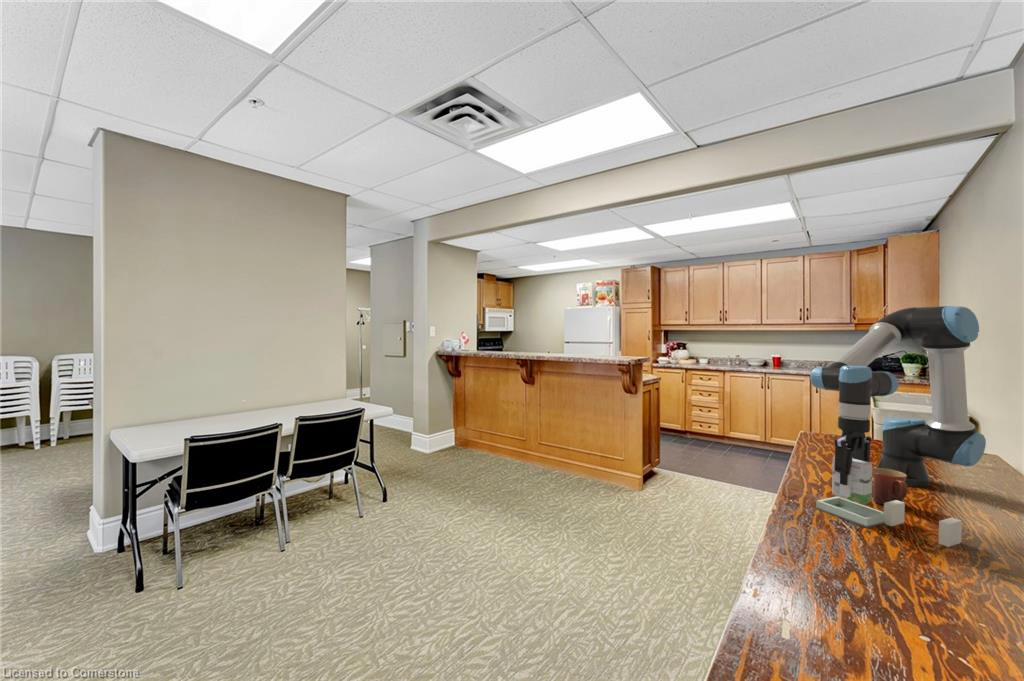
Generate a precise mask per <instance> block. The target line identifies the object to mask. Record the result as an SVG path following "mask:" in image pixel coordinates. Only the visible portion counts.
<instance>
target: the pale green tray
mask: <svg viewBox="0 0 1024 681" xmlns="http://www.w3.org/2000/svg"><path fill="white" fill-rule="evenodd" d="M815 501H816V506H815V509H816V510H818V511H821V512H822V513H823V512H824V513H826V514H829V515H831V516H834V517H835V518H836V517H837V518H839V519H843V520H844V521H846V522H850V523H853V524H854V525H857V526H860V527H862V528H865V529H869V528H873V527H877V526H880V525H881V526H882V525H885V524H884V511H881V510H879V509H875V508H873V507H870V506H867V505H865V504H862V503H859V502H856V501H852V500H849V499H846V498H843V497H839V496H836V495H835V496H833V497H827V498H822V499H818V500H815Z"/></svg>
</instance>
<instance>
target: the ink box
mask: <svg viewBox="0 0 1024 681" xmlns="http://www.w3.org/2000/svg"><path fill="white" fill-rule="evenodd" d="M872 469H873V463H872V462H871V461H870V462H866V461H862V460H857V459H852V464H851V469H850V475H852V478H851V497H848V496H845V495H842V494H839V493H840V473H839V472H836V471H835V456H833V457H832V478H831V481H832V483H831V485H832V488H831V494H832V496H833V495H834V496H835V497H836V496H838V497H841V498H844V499H847V500H850V501H853V502H856V503H859V504H862V505H866V504H868V503H871V502H872V500H873V497H872V496H873V474H872Z"/></svg>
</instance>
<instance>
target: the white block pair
mask: <svg viewBox="0 0 1024 681" xmlns="http://www.w3.org/2000/svg"><path fill="white" fill-rule="evenodd" d="M905 504H906V502H904V501H903V502H901V501H898V500H895V501H890V502H886V503H884V505H883V512H884V524H883V525H887V526H889V527H895V526H898V525H903V524H905V507H906V506H905ZM962 524H963V520H961V519H958V518H955V517H949V518H944V519H942V520H938V543H937V544H939V545H941V546H945V547H947V548H949V547H953V546H956V545H959V544H961V543H962V529H963V528H962Z"/></svg>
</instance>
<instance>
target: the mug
mask: <svg viewBox="0 0 1024 681" xmlns="http://www.w3.org/2000/svg"><path fill="white" fill-rule="evenodd" d="M906 478H907V475H906V474H904V473H902V472H899V471H895V470H891V469H884V468H877V467H874V468H873V467H872V479H873V485H872V496H873V501H875V502H876V503H877V504H879V505H882V506H884V503H886V502H890V501H895V500H898V501H901V502H904V499H905V498H906V497H907V495H908V486H907V484H906V483H905V480H906Z"/></svg>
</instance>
